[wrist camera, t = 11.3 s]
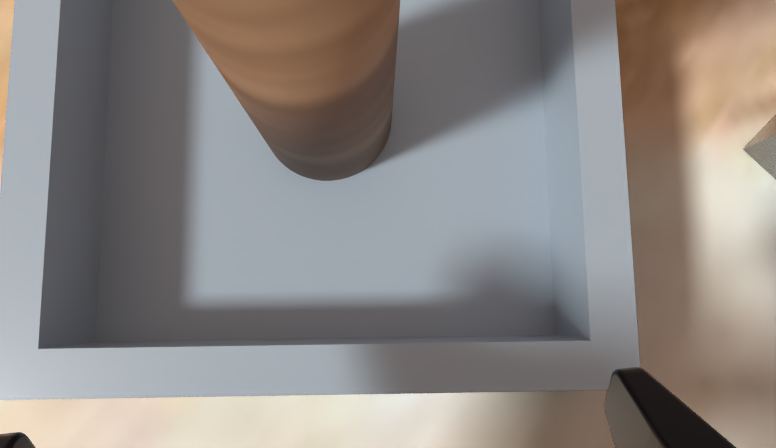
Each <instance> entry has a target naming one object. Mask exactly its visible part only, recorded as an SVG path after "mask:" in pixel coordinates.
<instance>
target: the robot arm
mask: <svg viewBox="0 0 776 448" xmlns="http://www.w3.org/2000/svg"><path fill="white" fill-rule="evenodd" d="M605 413H606V417H607V421H608V424H609V428H610V431H611V434H612V438H613V441H614V445H615V448H736V447H735V446H734V445H732V444H731V443H730V442H729V441H728V440H727V439H725V438H724V437H723V436H722V435H721V434H719V433H718V432H717V431H716V430H715V429H714V428H712V427H711V426H710V425H709V424H708V423H707V422H705V421H704V420H703V419H702V418H701V417H700V416H698V415H697V414H696V413H695V412H694V411H692V410H691V409H690V408H689V407H688V406H687V405H685V404H684V403H683V402H682V401H681V400H680V399H678V398H677V397H676V396H675V395H674V394H673V393H671V392H670V391H669V390H668V389H667V388H665V387H664V386H663V385H662V384H661V383H660V382H658V381H657V380H656V379H655V378H654V377H653V376H651V375H650V374H649V373H648V372H647V371H645V370H644V369H642V368H639V367H630V368H621V369H616V370H615V371H614V372H613V373H612V375H611V379H610V383H609V387H608V391H607V395H606V399H605ZM0 448H35V446H34V445H33V444H32V442H31V441H30V439H29V438H28V437H27V436H26V435H25V434H23V433H21V432H17V433H8V434H0Z"/></svg>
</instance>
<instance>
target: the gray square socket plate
mask: <svg viewBox="0 0 776 448" xmlns="http://www.w3.org/2000/svg"><path fill="white" fill-rule="evenodd" d="M744 150H745V151H746V152H747V153H748V154H749V155H750V156H751V157H752V158H753V159H755V160H756V161H757V162H758V163H759V164H760V165H761V166H762V167H763V168H764V169H765V170H766V171H768V172H769V173H770V174H771V175H772V176H773V177H774V178H775V179H776V115H775V116H774V117H773V118H772V119H771V120H770V121H769V122H768V123H767V124H766V125H765V126H764V127H763V128H762V130H761V131H760V132H759V133H758V134H757V135H756V136H755V137H754V138H753V139H752V140H751V141H750V142H749V143H748V144H747V145H746V146H745V148H744Z"/></svg>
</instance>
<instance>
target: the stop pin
mask: <svg viewBox="0 0 776 448" xmlns="http://www.w3.org/2000/svg"><path fill="white" fill-rule="evenodd" d="M172 1H173V2H174V4H175V5H176V7H177V9H178V10H179V12H180V13H181V15H182V16H183V18H184V19H185V21H186V22H187V24H188V25H189V27H190V28H191V30H192V31H193V33H194V34H195V36H196V37H197V39H198V40H199V42H200V43H201V45H202V46H203V48H204V49H205V51H206V52H207V54H208V55H209V57H210V58H211V60H212V61H213V63H214V64H215V66H216V67H217V69H218V70H219V72H220V73H221V75H222V77H223V78H224V80H225V81H226V83H227V84H228V86H229V87H230V89H231V90H232V92H233V93H234V95H235V96H236V98H237V99H238V101H239V102H240V104H241V105H242V107H243V108H244V110H245V111H246V113H247V114H248V116H249V117H250V119H251V120H252V122H253V123H254V125H255V126H256V128H257V129H258V131H259V132H260V134H261V135H262V137H263V138H264V140H265V142H266V143H267V145H268V146H269V148H270V149H271V151H272V152H273V154H274V155H275V156H276V157H277V159H278V160H279V161H280V162H281V163H282V164H283V165H284V166H286V167H287V168H288V169H290V170H291V171H293V172H295V173H296V174H298V175H301V176H303V177H306V178H309V179H313V180H320V181H333V180H340V179H344V178H348V177H350V176H353V175H355V174H357V173H359V172H361V171H362V170H364V169H365V168H367V167H368V166H369V165H370V164H371V163H372V162H373V161H374V160H375V159H376V158H377V157H378V156H379V154H380V153H381V152H382V150H383V148H384V147H385V145H386V142H387V140H388V137H389V134H390V130H391V122H392V108H393V94H394V81H395V67H396V53H397V39H398V26H399V12H400V0H172Z"/></svg>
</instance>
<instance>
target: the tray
mask: <svg viewBox="0 0 776 448" xmlns="http://www.w3.org/2000/svg"><path fill="white" fill-rule="evenodd" d="M630 367H639V368H640V356H639V341H638V327H637V312H636V298H635V283H634V269H633V254H632V240H631V225H630V211H629V196H628V182H627V167H626V153H625V138H624V124H623V109H622V95H621V80H620V66H619V51H618V37H617V22H616V8H615V0H400V12H399V26H398V39H397V53H396V67H395V81H394V94H393V108H392V122H391V130H390V134H389V137H388V140H387V142H386V145H385V147H384V148H383V150H382V152H381V153H380V154H379V156H378V157H377V158H376V159H375V160H374V161H373V162H372V163H371V164H370V165H369V166H368V167H367V168H365V169H364V170H362V171H361V172H359V173H357V174H355V175H353V176H350V177H348V178H344V179H340V180H333V181H320V180H313V179H309V178H306V177H303V176H301V175H298V174H296V173H295V172H293V171H291V170H290V169H288V168H287V167H286V166H284V165H283V164H282V163H281V162H280V161H279V160H278V159H277V157H276V156H275V155H274V154H273V152H272V151H271V149H270V148H269V146H268V145H267V143H266V142H265V140H264V138H263V137H262V135H261V134H260V132H259V131H258V129H257V128H256V126H255V125H254V123H253V122H252V120H251V119H250V117H249V116H248V114H247V113H246V111H245V110H244V108H243V107H242V105H241V104H240V102H239V101H238V99H237V98H236V96H235V95H234V93H233V92H232V90H231V89H230V87H229V86H228V84H227V83H226V81H225V80H224V78H223V77H222V75H221V73H220V72H219V70H218V69H217V67H216V66H215V64H214V63H213V61H212V60H211V58H210V57H209V55H208V54H207V52H206V51H205V49H204V48H203V46H202V45H201V43H200V42H199V40H198V39H197V37H196V36H195V34H194V33H193V31H192V30H191V28H190V27H189V25H188V24H187V22H186V21H185V19H184V18H183V16H182V15H181V13H180V12H179V10H178V9H177V7H176V5H175V4H174V2H173V1H172V0H15V4H14V18H13V31H12V44H11V57H10V70H9V84H8V97H7V110H6V123H5V137H4V150H3V163H2V176H1V189H0V400H33V399H94V398H155V397H216V396H278V395H339V394H400V393H462V392H523V391H584V390H608V387H609V383H610V379H611V375H612V373H613V372H614V371H615V370H616V369H621V368H630Z"/></svg>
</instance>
